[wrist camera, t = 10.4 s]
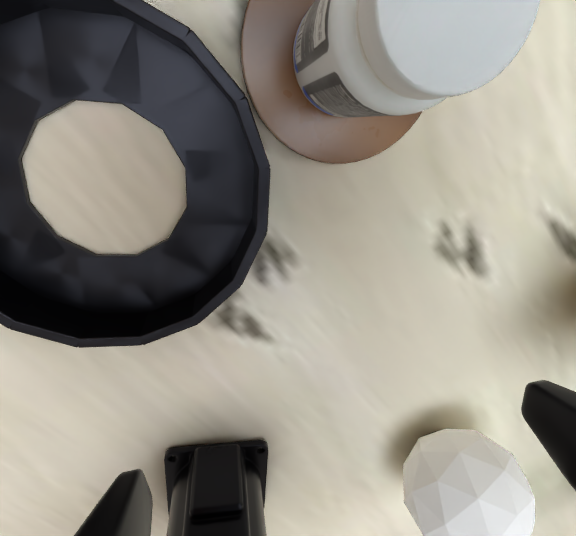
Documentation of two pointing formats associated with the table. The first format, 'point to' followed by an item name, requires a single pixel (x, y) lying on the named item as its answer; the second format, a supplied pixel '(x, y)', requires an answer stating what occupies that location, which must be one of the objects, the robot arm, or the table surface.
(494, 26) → the pill bottle
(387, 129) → the disc
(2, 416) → the table surface
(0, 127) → the pan
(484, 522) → the ball
